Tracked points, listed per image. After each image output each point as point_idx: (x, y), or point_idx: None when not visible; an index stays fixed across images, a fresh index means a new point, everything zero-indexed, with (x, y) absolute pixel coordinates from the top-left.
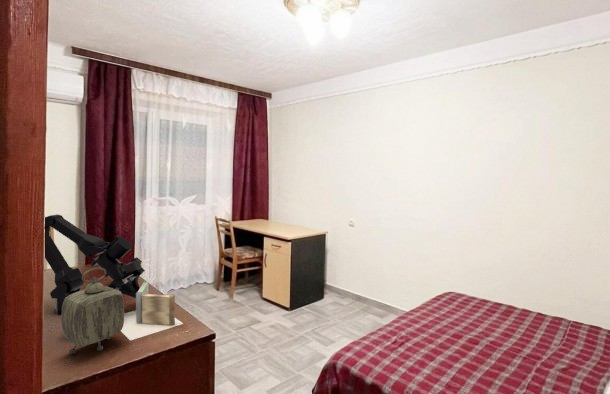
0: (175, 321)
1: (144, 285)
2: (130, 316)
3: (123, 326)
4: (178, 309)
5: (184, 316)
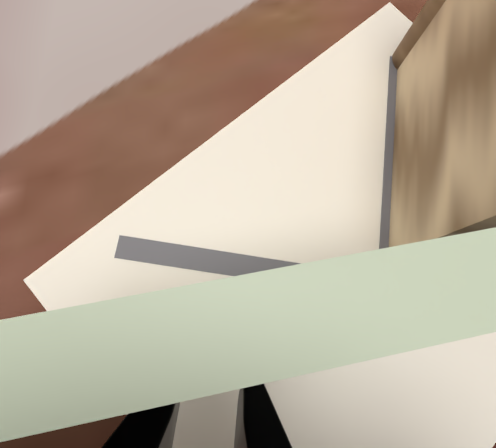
0: (362, 52)
1: (176, 325)
2: (284, 423)
3: (477, 390)
4: (134, 85)
5: (265, 23)
